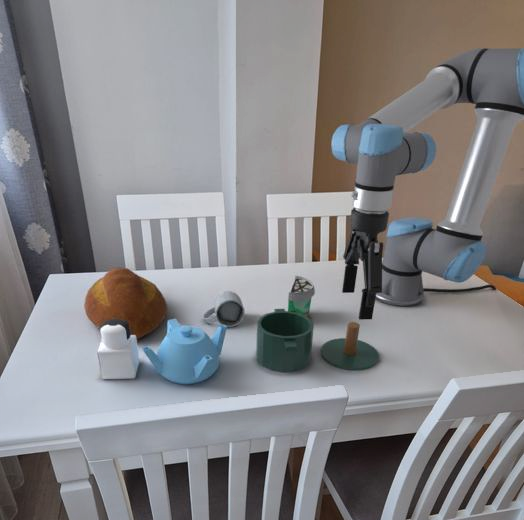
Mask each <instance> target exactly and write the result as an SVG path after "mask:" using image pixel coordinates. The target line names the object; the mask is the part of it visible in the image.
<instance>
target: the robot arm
mask: <svg viewBox="0 0 524 520" xmlns="http://www.w3.org/2000/svg"><path fill="white" fill-rule="evenodd" d="M455 104H472V105H475V106H474V109H473V112H474V114H475V116H476V118H477V121H476V125H475V127H474V130H473V132H472V133H473V134H472V136H471V138H470V139H471V140H470V142H469V146H468V149H467V152H466V155H465V157H464V161H463V164H462V167H461V170H460V173H459V176H458V179H457V183H456V185H455V188H454V191H453V194H452V198H451V201H450V204H449V206H448V210H447V213H446V216H445V218H444V219H443V220H441V221H440V222H438V223H437V224H436V228H433V227H434V226H433V225H434V224H433V223H434V222H433V221H432V220H430V219H427V218H423V217H422V218H420V217H404V218H398V219H394V220H393V221H391V222H390V223H389V225H388V222H389V218H390V212H389V210H390V209H391V206H392V201H393V196H394V191H395V189H394V187H395V182H396V181H395V180H396V176H402V175H409V174H416V173H417V174H418V172H422V171H424V170H426V169H428V168H429V167H430V166H431V165H432V164H433V162H434V161H435V159H436V155H437V144H436V141H435V140H434V138H433V136H431V135H430V134H429V133H426V132H417V131H414V132H409V131H410V130H411V131H412V129H414V128H415V127H416V126H418V125H419V124H421V123H422V122H423V121H425V120H426V119H427V118H429V117H430V116H431V115H433V114H435V113H436V112H437V111H439V110H445V109H448V108H450V107H452V106H453V105H455ZM522 121H524V47H522V48H480V47H479V48H475V49H471V50H468V51H465V52H462V53H460V54H457V55H456V56H453V57H451V58H449V59H447V60H445V61H443V62H442V63H440V64H438V65H437V66H436V67H434V68H432V69H431V70H430V71H429V72H428V73H427V74H426V77H425V79H424V80H423V81H421V82H419V83H418V84H416V85H415V86H414V87H412V88H411V89H409V90H408V91H406V92H405V93H403V94H402V95H400V96H399V97H397V98H396V99H395V100H392V101H391V102H389V103H388V104H387V105H386V106H384V107H382V108H381V109H379V110H378V111H377V112H375V113H374V114H372V115H371V116H369V117H368V118H366V119H365V120H363V121H361V122H360V123H358V124H356V125H355V124H352V123H349V124H341V125H340V126H339V127H337V128H336V130H335V131H334V132H333V135H332V137H331V142H330V143H331V144H330V145H331V153H332V155H333V157H334V158H336V159H337V160H339V161H342V162H346V163H347V164H356V165H357V166H356V175H355V182H354V191H352V192H351V194H350V195H351V198H352V207H353V208H352V209H351V210H350V211H351V212H350V218H349V227H350V228H351V229H350V234H349V237H348V240H347V243H346V246H345V249H344V253H343V255H342V258H343V260H344V264H345V267H344V274H343V280H342V282H343V283H342V288H341V292H342V294H354V293H355V288H356V282H357V275H358V270H359V269H358V268H359V266H358V265H360V261H362V269H363V271H362V272H363V282H364V288H362V289H361V300H360V307H359V313H358V320H361V321H363V320H373V315H374V310H375V304H376V300H377V301H378V302H381V303H383V304H386V305H389V306H390V305H391V306H394V307H395V306H396V307H412V306H417V305H419V304H421V303H422V302H423V300H424V295H425V293H424V292H430V293H466V292H474V291H480V290H481V291H482V290H484V289H489V288H490V289H492V291H493V290H494V291H496V290H497V288H496V286H495V285H493V284H484V285H481V286H473V287H467V288H456V289H455V288H450V289H449V288H446V289H445V288H426V287H425V288H424V285H423V283H424V282H423V276H422V275H423V272H424V273H426V274H430V275H432V276H434V277H438V278H441V279H443V280H444V281H450V282H453V283H457V284H461V283H465V282H467V281H468V280H469V279H470V278H472V276H474V275H475V273H476V272H477V271H478V270H479V268H480V266H482V265H481V264H482V263H483V261H484V259H485V256H486V254H487V253H486V252H487V245H486V243H485V242H483V241H482V239H483V236H484V233H483V231H482V228H481V223H482V220H483V218H484V214H485V211H486V209H487V206H488V203H489V200H490V197H491V195H492V192H493V189H494V187H495V184H496V181H497V178H498V175H499V172H500V170H501V167H502V164H503V161H504V158H505V155H506V154H507V153H506V152H507V150H508V148H509V144H510V141H511V139H512V136H513V133H514V130H515V128H516V126H517V125H518V124H519V123H521V122H522ZM386 230H387V233H386V235H385V237H386V238H385V244H384V242H379V240H378V235H379V234H380V233H383V232H385V231H386Z"/></svg>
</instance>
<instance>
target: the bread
mask: <svg viewBox="0 0 524 520" xmlns="http://www.w3.org/2000/svg"><path fill="white" fill-rule="evenodd" d="M83 307H84V311H85V314H86V317H87V318H88V320H89V321H90V322H91V323H92V324H93V325H94V326H96V327H97V328H99V329H100V325H101V324H102V323H103V322H105V321H107V320H110V319H123V320H125V321H127V322H128V323H129V327H130V334H131V335H136V339H137V340H138V339H140V338H143V337H145V336H146V335H148V334H151V333H152V332H153V331H154V330H156V329H157V328H158V327H159V326H160V325H161V324H162V323H163V320H164V319H165V318H166V315H167V310H168V306H167V303H166V299H165V297H164V295H163V294H162V292H161V291H160V289H159V288H158V287H157V285H156V284H155V283H153V282H152V281H150V280H148V279H146V278H144V277H143V276H140V275H139V274H137V273H135V272H134V271H132V270H131V269H129V268H126V267H120V266H117V267H114V268H113V267H112V268H111V269H110V270H108V271H107V272H106V273H105V274H104V276H103V277H101V278H99V279H98V280H96V282H94V283H93V284H92V285H91V287H90V288H89V289H87V293H86V295H85V298H84V304H83Z"/></svg>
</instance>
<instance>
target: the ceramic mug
mask: <svg viewBox="0 0 524 520" xmlns="http://www.w3.org/2000/svg"><path fill="white" fill-rule="evenodd" d="M245 313H246V311H245V307H244V304H243V301H242V299H241V297H240V296H239V295H238V294H237V293H236V292H235V291H231V290H225V291H223V292H221V293H219V294H218V295H217V297H216V299H215V302H214V306H213V307H212V308H210V309H208V310H207V311H205V313H204V314H203V317H202V318H203V321H204V322H205V323H206V324H212V323H216V322H218V323H219V324H220V326H221V325H225V326H227V328H232V327H236V326H238V325H240V324H241V323H242V322H243V320H244V318H245ZM212 315H214V316H212Z"/></svg>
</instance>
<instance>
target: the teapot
mask: <svg viewBox="0 0 524 520" xmlns="http://www.w3.org/2000/svg"><path fill="white" fill-rule="evenodd" d="M217 326H218V327H217V329H216V330H215V332H214V334H213V335H212V337H210V336H209V335H208V334H207V333H206V332H205V330H204V329H202V328H200V327H198V326H193V325H192V326H191V325H182V326H181V324H180V323H179V321H178V320H177V318H172V319H168V320H167V328H166V335H165V337H164V338H163V339H162V341H161V343H160V345H159V347H158V349H157V353H156V352H154V351H153V349H152V348H151V346H150V345H146V346H143V347H141V349H142V351H143V353H144V354H145V356H146V357H147V358H148V360H149V361H150V363H151V364H152V366H153V367H154V368H155V370H156V371H157V373H158V374H160V375H161V376H162V377H164V378H165V379H167V380H168V381H169V382H172V383H174V384H178V385H194V384H197V383H202V382H204V381H205V380H207V379H209V378H210V377H212V375H213V374H214V373H215V372H216V371H217V370H218V368H219V366H220V356H221V354H222V350H223V346H224V341H225V338H226V333H227V329H228V327H227V326H225V325H221V324H220V325H217Z"/></svg>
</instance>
